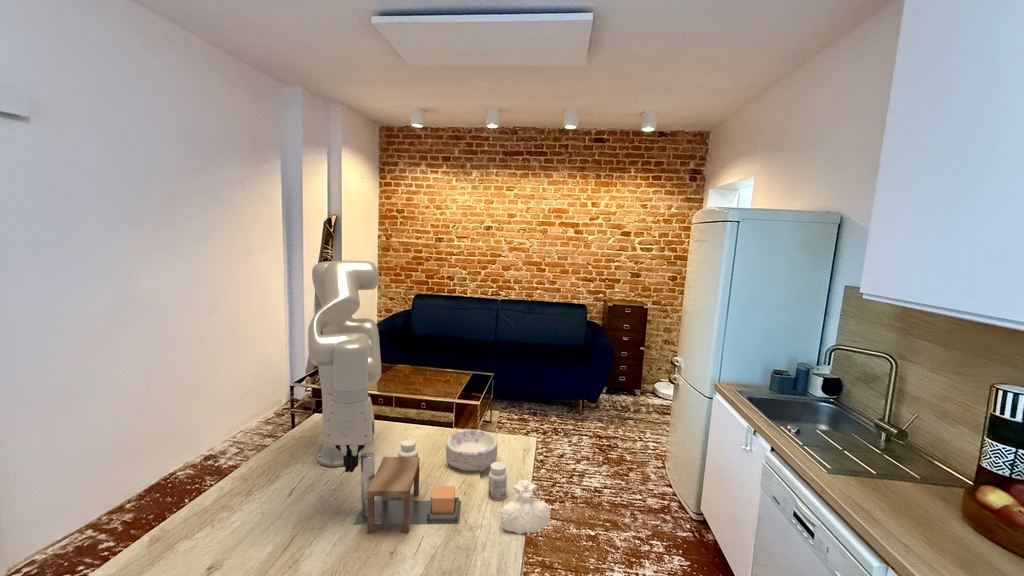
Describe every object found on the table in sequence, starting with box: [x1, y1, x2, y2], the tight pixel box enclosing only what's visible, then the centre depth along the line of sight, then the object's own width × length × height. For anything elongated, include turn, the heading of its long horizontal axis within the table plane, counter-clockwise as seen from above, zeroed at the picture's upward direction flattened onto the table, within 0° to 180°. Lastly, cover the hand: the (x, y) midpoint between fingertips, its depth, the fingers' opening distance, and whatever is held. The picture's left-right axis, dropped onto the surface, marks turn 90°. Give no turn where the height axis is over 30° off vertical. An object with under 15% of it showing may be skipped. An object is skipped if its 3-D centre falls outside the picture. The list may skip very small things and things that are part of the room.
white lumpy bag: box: [499, 479, 551, 535], centre depth 100 cm, size 12×8×11 cm
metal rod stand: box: [353, 451, 462, 526], centre depth 101 cm, size 24×9×15 cm, turn 94°
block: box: [431, 485, 456, 514], centre depth 102 cm, size 5×5×5 cm
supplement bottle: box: [397, 439, 419, 457], centre depth 119 cm, size 5×5×10 cm
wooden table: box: [366, 456, 421, 534], centre depth 101 cm, size 30×23×11 cm
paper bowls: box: [445, 429, 498, 473], centre depth 126 cm, size 15×15×8 cm
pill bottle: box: [487, 461, 508, 501], centre depth 111 cm, size 5×5×8 cm
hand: (351, 469), depth 100 cm, fingers closed
